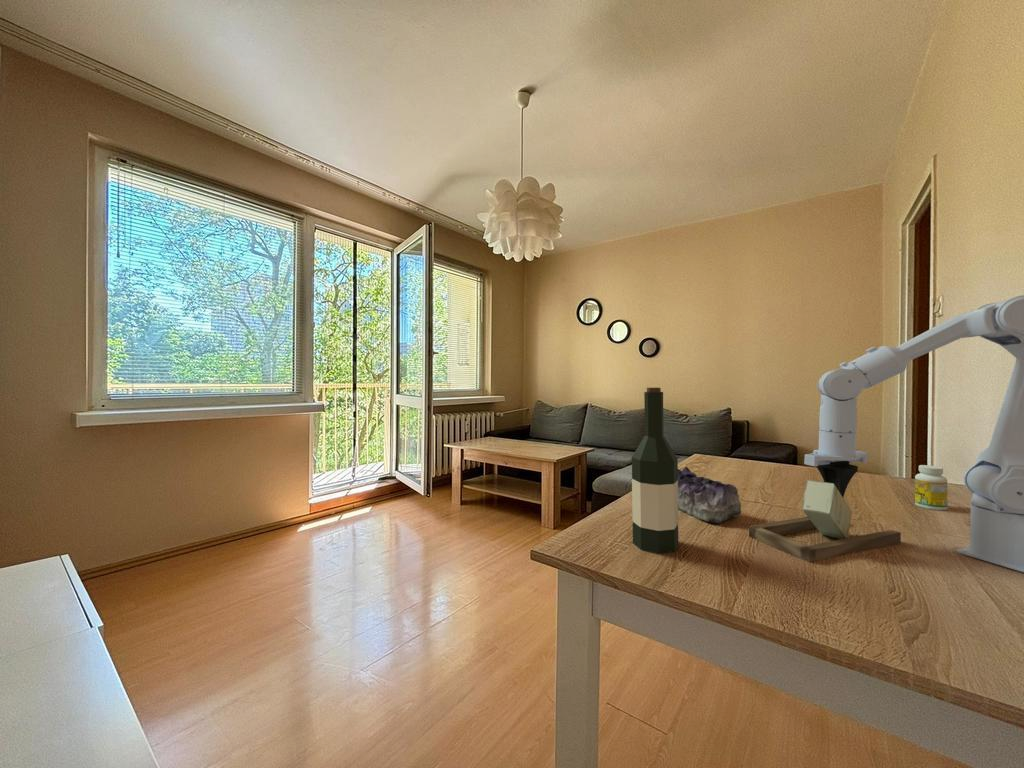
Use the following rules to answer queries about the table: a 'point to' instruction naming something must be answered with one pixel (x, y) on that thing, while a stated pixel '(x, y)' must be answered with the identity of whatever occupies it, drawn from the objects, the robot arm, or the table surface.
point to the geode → (707, 497)
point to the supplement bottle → (931, 488)
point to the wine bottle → (655, 483)
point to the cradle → (772, 536)
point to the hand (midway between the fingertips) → (835, 500)
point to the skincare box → (827, 509)
